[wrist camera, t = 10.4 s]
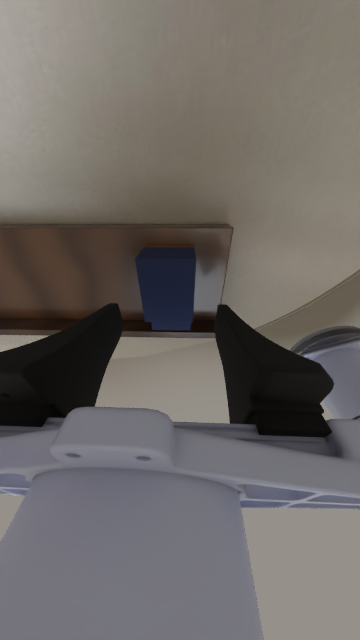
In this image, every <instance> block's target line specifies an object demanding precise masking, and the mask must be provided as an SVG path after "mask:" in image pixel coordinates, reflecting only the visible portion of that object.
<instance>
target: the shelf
mask: <svg viewBox="0 0 360 640" xmlns="http://www.w3.org/2000/svg"><path fill="white" fill-rule="evenodd" d="M232 233H233V227H231V226H230V225H228V224H53V225H0V335H53V334H55V333H58V332H60V331H62V330H64V329H66V328H68V327H70V326H72V325H74V324H76V323H77V322H79V321H81V320H83V319H84V318H86V317H88V316H89V315H91V314H93V313H94V312H96V311H97V310H99V309H101V308H102V307H104V306H105V305H107V304H109V303H118V305H119V309H120V312H121V316H122V320H123V324H124V327H123V331H122V334H121V337H170V338H216V337H215V328H214V326H215V319H216V313H217V306H218V305H221V300H222V294H223V288H224V282H225V276H226V269H227V263H228V257H229V251H230V245H231V239H232ZM147 244H193V245H194V249H195V255H196V273H195V292H194V312H193V322H192V323H191V330H190V331H189V330H152V324H151V322H145V318H144V312H143V306H142V300H141V294H140V288H139V282H138V276H137V269H136V263H135V258H136V257H137V256H138V254H139V253H140V252H141V251H142V249H143V248H144V247H145V246H146V245H147Z"/></svg>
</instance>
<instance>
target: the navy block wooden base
mask: <svg viewBox="0 0 360 640" xmlns="http://www.w3.org/2000/svg"><path fill="white" fill-rule="evenodd" d="M135 263H136V269H137V276H138V282H139V288H140V294H141V300H142V306H143V312H144V318H145V322H151V324H152V330H189V331H190V330H191V323H192V322H193V312H194V292H195V273H196V255H195V249H194V245H193V244H147V245H146V246H145V247H144V248H143V249H142V251H141V252H140V253H139V254H138V256H137V257H136V258H135Z"/></svg>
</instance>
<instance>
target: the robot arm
mask: <svg viewBox="0 0 360 640" xmlns="http://www.w3.org/2000/svg"><path fill="white" fill-rule="evenodd" d="M123 327H124V324H123V320H122V316H121V312H120V309H119V305H118V303H109V304H107V305H105V306H104V307H102V308H101V309H99V310H97V311H96V312H94V313H93V314H91V315H89V316H88V317H86V318H84V319H83V320H81V321H79V322H77V323H76V324H74V325H72V326H70V327H68V328H66V329H64V330H62V331H60V332H58V333H55V334H53V335H51V336H48V337H46V338H43V339H41V340H38V341H35V342H32V343H30V344H27V345H23V346H20V347H17V348H14V349H10V350H7V351H3V352H0V494H9V495H20V496H25V497H24V499H23V501H22V503H21V505H20V507H19V509H18V510H17V512H16V514H15V516H14V518H13V520H12V522H11V523H10V525H9V527H8V529H7V531H6V533H5V535H4V537H3V538H2V540H1V542H0V640H264V639H263V633H262V627H261V621H260V615H259V609H258V604H257V598H256V592H255V586H254V580H253V575H252V569H251V563H250V558H249V552H248V546H247V540H246V534H245V528H244V522H243V516H242V511H241V508H309V509H311V508H312V509H317V508H318V509H352V510H360V339H358V340H355V341H351V342H347V343H343V344H339V345H335V346H331V347H327V348H323V349H319V350H315V351H311V352H307V353H304V354H303V356H300V355H298V354H296V353H294V352H291V351H289V350H287V349H285V348H283V347H281V346H279V345H278V344H276V343H273V342H272V341H270V340H269V339H267V338H265V337H264V336H262V335H261V334H260V333H258V332H257V331H255V330H254V329H253V328H251V327H250V326H249V325H248V324H246V323H245V322H244V321H243V320H242V319H241V318H240V317H239V316H237V315H236V314H235V313H234V312H233V311H232V310H231V309H230V308H229V307H228V306H227V305H218V306H217V313H216V319H215V326H214V328H215V337H216V342H217V346H218V349H219V353H220V357H221V360H222V365H223V370H224V377H225V383H226V391H227V399H228V407H229V417H230V424H224V423H223V424H222V423H195V422H172V420H171V419H170V417H169V416H168V415H166V414H165V413H162V412H160V411H158V410H151V409H144V408H142V409H141V408H114V407H113V408H112V407H95V403H96V399H97V396H98V392H99V389H100V386H101V382H102V379H103V376H104V373H105V370H106V368H107V365H108V363H109V360H110V358H111V356H112V354H113V352H114V350H115V348H116V346H117V344H118V341H119V339H120V337H121V334H122V331H123ZM322 400H323V402H324V403H325V405H326V406H327V408H328V409H329V411H330V412H331V414H332V415H333V417H334V418H335V419H330V420H327V421H325V419H324V418H323V416H322V413H323V412H324V410H323V408H322V406H321V405H320V403H321V401H322Z"/></svg>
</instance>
